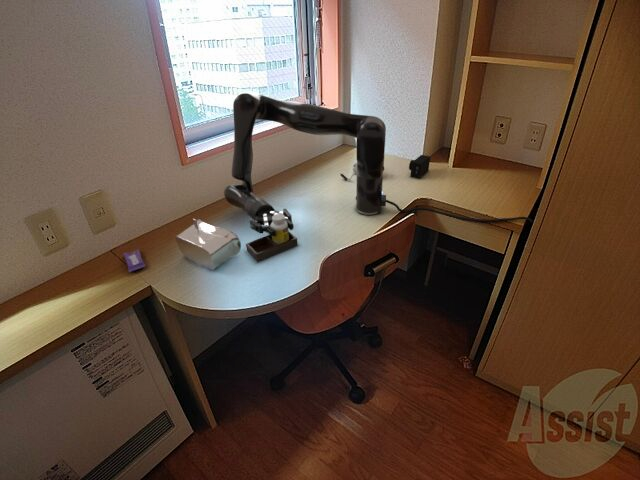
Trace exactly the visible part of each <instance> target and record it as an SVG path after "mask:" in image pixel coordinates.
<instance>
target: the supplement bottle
mask: <svg viewBox="0 0 640 480" xmlns="http://www.w3.org/2000/svg"><path fill="white" fill-rule="evenodd" d="M271 227H272V228H273V229H274V230H275V231H276V236H275V237H274V236H272V241H273V242H275V243H276V244H277V245H279V244H281V243H283V242H286V241H288V240H289V233H288V231H289V228H288V223H287V222H286V221H285V216H284V215H283V214H275V215H273V216H272V223H271Z"/></svg>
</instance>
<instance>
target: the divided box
mask: <svg viewBox="0 0 640 480" xmlns="http://www.w3.org/2000/svg"><path fill="white" fill-rule="evenodd" d="M288 233H289V240H288V241H286V242H283V243H281V244H279V245H277V244H276V243H275V242H273V241H272V236H271V235H269V234H267V235H264V236H262V237H260V238H257V239H254V240H252V241H249V242H246V243H245V249H246V252H247V253H248V254H249V255H250V256H251V257H252V258H253V259H254V260H255V261H256V263H260V262H264V261H265V260H268V259H270V258H273V257H275V256H278V255H279V254H282V253H284V252H287V251H289V250H291V249H292V250H293V249H294V248H297V247H298V246H299V244H298V238H297V237H296V236H295V235H294V234H292V232H290V231H289V230H288Z"/></svg>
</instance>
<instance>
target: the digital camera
mask: <svg viewBox="0 0 640 480" xmlns="http://www.w3.org/2000/svg"><path fill="white" fill-rule="evenodd" d="M430 162H431V156H430V155H424V154H420V155H419V156H417V158H415V159H411V160H410V162H409V164H408V170H409V171H410V174H409V175H410V177H409V178H413V179H417V180H420V179H422V177H423V176H424V175H426V174H427V173H428V172H429V170H430Z"/></svg>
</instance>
